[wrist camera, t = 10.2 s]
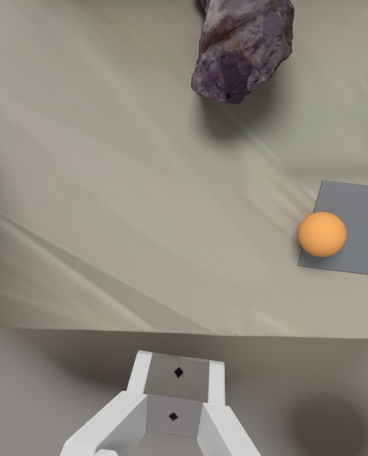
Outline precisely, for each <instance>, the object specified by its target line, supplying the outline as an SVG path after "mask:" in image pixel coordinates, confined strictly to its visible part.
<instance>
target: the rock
mask: <svg viewBox="0 0 368 456" xmlns="http://www.w3.org/2000/svg"><path fill="white" fill-rule="evenodd" d="M199 1H200V2H201V4H202V6H203V8H204V11H205V12H206V17H205V19H204V23H205V24H204V27H203V28H202V31H201V37H200V41H199V57H198V60H197V62H196V68H195V71H194V73H193V75H192V77H191V79H192V81H191V88H192V89H193V90H194V91H195V92H196V93H197V94H199V95H200V96H202V97H204V98H208V97H209V98H212V99H215V100H218V101H221V102H226V103H233V104H239V103H240V102H241V101H242V100H243V99H244V98H245V96H246V95H248V94H249V93H250V92H251V91H252V90H253V89H254V88H255V86H256V85H257V84H258V83H259V82H265V81H267V80H268V79H269V78H270V77H271V76H272V75H273V73H274V72H275V71H276V70H277V68H278V66H279V65H280V63H281V62H282V61H284V60H286V59H287V58H288V57H289V55H290V54H291V53H292V47H291V46H292V39H293V31H292V28H293V26H292V24H293V19H294V6H293V5H292V3H291V1H290V0H199Z"/></svg>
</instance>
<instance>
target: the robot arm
mask: <svg viewBox="0 0 368 456" xmlns="http://www.w3.org/2000/svg"><path fill="white" fill-rule="evenodd" d="M146 431H150V432H159V433H167V434H174V435H180V436H185V437H190V438H196V439H197V442H198V444H199V446H200V448H201V451H202V453H203V456H261V455H260V453H259V452H258V451H257V449H256V447H255V446H254V444H253V443H252V441H251V439H250V438H249V436H248V435H247V433H246V432H245V430H244V428H243V427H242V425H241V424H240V422H239V421H238V419H237V417H236V416H235V414H234V413H233V411H232V410H231V408H230V407H229V406H225V368H224V363H223V362H218V361H211V360H210V361H209V360H205V359H196V358H189V357H178V356H172V355H166V354H160V353H153V352H147V351H140V350H139V352H138V353H137V356H136V359H135V363H134V366H133V370H132V374H131V377H130V381H129V384H128V387H127V391H121V392H120V393H119V394H118V395H117V396H116V397H115V398H114V399H113V400H111V401H110V402H109V403H108V404H107V405H106V406H105V407H104V408H103V409H101V411H100V412H98V413H97V414H96V415H95V416H94V417H93V418H91V419H90V420H89V421H88V422H87V423H86V424H85V425H84V426H83V427H81V428H80V429H79V430H78V431H77V432H76V433H75V434H74V435H72V437H70V438H69V439H68V440H67V441H66V442H65V444H64V447H63V449H62V452H61V454H60V456H128V455H129V453H130V452H131V451H132V449H133V448H134V447H135V446H136V445H137V443H138V442H139V441H140V440H141V438H142V437H143V436H144V434H145V433H146Z"/></svg>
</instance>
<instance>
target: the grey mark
mask: <svg viewBox="0 0 368 456" xmlns="http://www.w3.org/2000/svg"><path fill="white" fill-rule="evenodd" d="M316 212H328V213H331V214H334V215H335V216H337V217H338V218H339V219H340V220H341V221H342V222H343V224H344V225H345V228H346V233H347V237H346V241H345V244H344V246H343V247H342V248H341V249H340V250H339V251H338V252H337V253H335V254H333V255H331V256H327V257H318V256H314V255H312V254H310V253H308V252H307V251H305V250H304V249H303V250H302V253H301V257H300V260H299V264H298V266H306V267H314V268H322V269H330V270H338V271H347V272H355V273H363V274H368V186H364V185H355V184H346V183H337V182H328V181H322V184H321V188H320V191H319V195H318V198H317V202H316V205H315V208H314V212H313V213H316Z"/></svg>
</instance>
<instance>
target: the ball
mask: <svg viewBox="0 0 368 456" xmlns="http://www.w3.org/2000/svg"><path fill="white" fill-rule="evenodd" d="M346 237H347V233H346V228H345V225H344V224H343V222H342V221H341V220H340V219H339V218H338V217H337V216H335V215H334V214H331V213H328V212H316V213H313V214H311V215H309V216H307V217H306V218H305V219H304V220H303V221H302V222H301V224H300V226H299V229H298V239H299V242H300V244H301V246H302V247H303V249H304V250H305V251H307V252H308V253H310V254H312V255H314V256H318V257H327V256H331V255H333V254H335V253H337V252H338V251H339V250H340V249H341V248H342V247H343V246H344V244H345V241H346Z"/></svg>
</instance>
